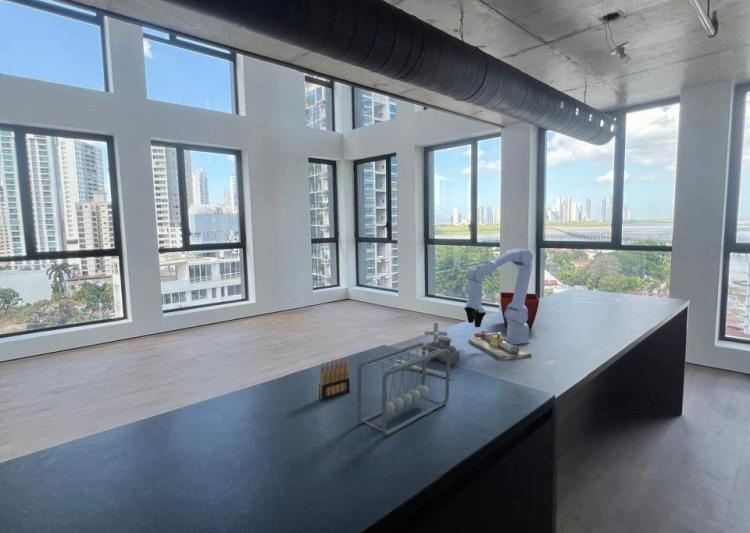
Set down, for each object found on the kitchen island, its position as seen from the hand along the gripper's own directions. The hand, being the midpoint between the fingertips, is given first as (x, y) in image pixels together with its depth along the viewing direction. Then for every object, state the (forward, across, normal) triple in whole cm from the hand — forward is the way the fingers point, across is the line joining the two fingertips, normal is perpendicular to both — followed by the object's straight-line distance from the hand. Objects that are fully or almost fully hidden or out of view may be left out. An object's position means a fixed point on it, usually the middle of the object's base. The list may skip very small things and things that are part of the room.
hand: (474, 324), depth 182 cm
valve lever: (+4, +5, +5) cm, 8 cm away
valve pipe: (+10, +4, +10) cm, 15 cm away
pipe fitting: (+10, +18, -20) cm, 29 cm away
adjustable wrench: (+11, +26, -32) cm, 43 cm away
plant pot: (+11, -32, +39) cm, 52 cm away
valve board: (+10, +4, +10) cm, 15 cm away
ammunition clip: (+10, +43, -65) cm, 79 cm away
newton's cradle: (+10, +58, -45) cm, 74 cm away
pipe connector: (+10, -7, -16) cm, 20 cm away
